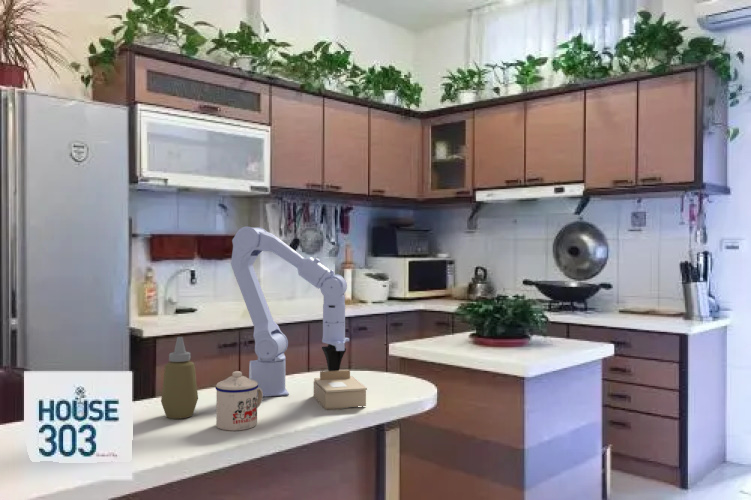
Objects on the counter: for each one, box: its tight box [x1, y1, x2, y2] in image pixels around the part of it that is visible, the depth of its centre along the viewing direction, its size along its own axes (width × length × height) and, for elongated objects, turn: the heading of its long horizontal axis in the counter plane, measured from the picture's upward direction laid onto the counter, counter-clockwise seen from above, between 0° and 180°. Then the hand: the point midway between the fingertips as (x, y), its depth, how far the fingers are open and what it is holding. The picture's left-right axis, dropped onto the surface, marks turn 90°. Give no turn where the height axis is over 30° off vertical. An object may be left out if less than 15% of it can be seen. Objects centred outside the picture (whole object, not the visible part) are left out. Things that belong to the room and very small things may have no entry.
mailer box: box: [313, 380, 367, 411], centre depth 158 cm, size 14×10×4 cm
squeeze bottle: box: [160, 336, 199, 420], centre depth 144 cm, size 8×8×18 cm
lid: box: [313, 369, 368, 393], centre depth 157 cm, size 14×10×2 cm
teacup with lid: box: [214, 370, 263, 432], centre depth 138 cm, size 12×9×12 cm
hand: (333, 374), depth 164 cm, fingers closed
